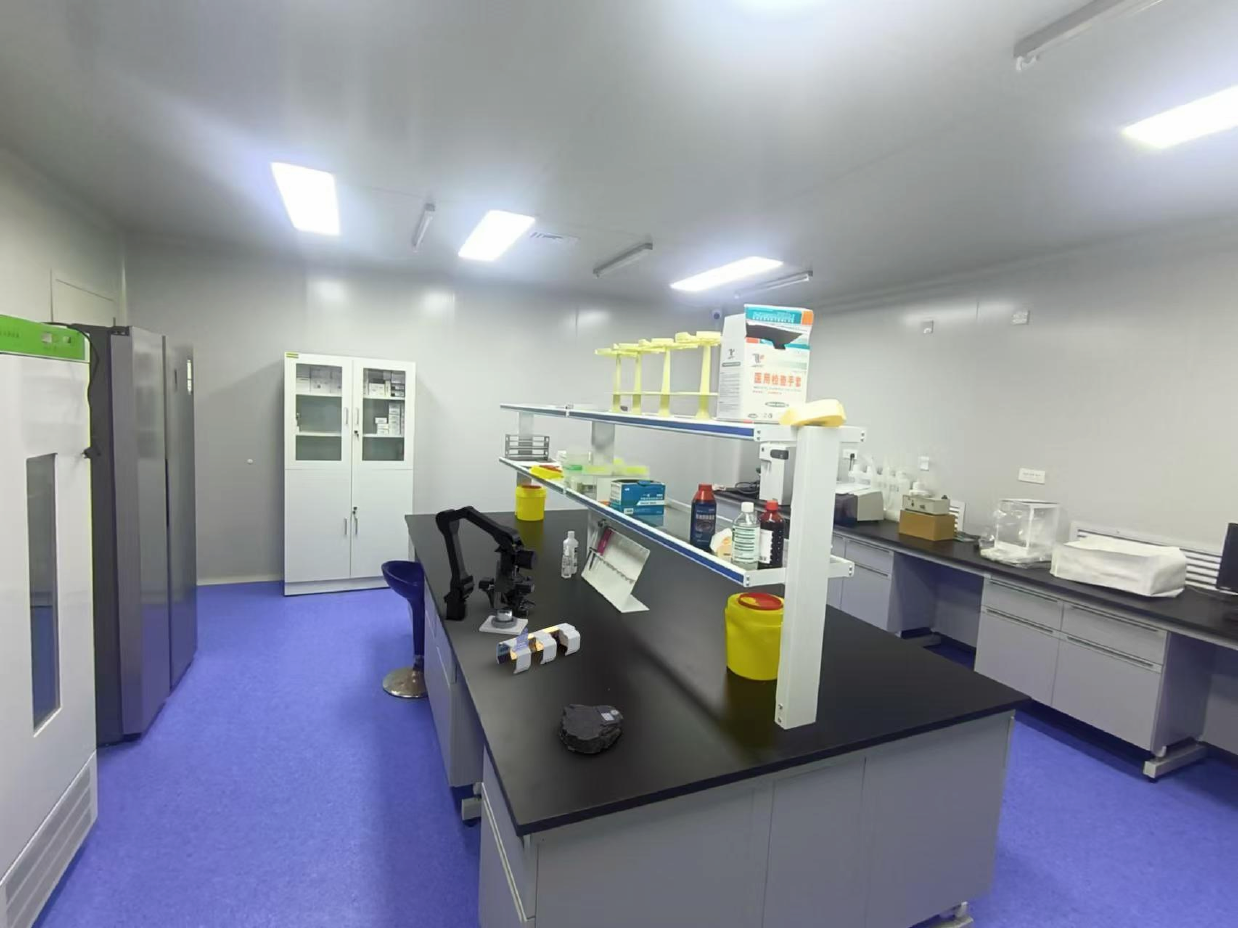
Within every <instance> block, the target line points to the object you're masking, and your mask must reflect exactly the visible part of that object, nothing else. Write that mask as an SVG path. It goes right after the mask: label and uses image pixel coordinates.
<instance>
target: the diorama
mask: <svg viewBox="0 0 1238 928" xmlns="http://www.w3.org/2000/svg"><path fill="white" fill-rule="evenodd" d="M580 642H581V635H580V633H579V631H578V630H576V628H575V626H573V625H571V624H569V623H566V622H565V623H559V624H557V625H554V626H550V627H547V628H543V629H540V630H538V631H534V632H530V633H529V632H528V628H526V627H524V629H523V630H522V632H521V633H520V635H517V636H516V637H514V638H510V639H507V640H504V641H500V642H498V643H496V650H495V651H496V653H495V654H496V655H495V658H496V662H497V664H498V665H501V664H503V663H506V662H509V661H512V660H516V664H515V665H516V666H515V667H516V668H515V670H514V671H513V675H516V674H519V673H521V672H523V671H527V670H528V669H529V667H530V666H531V663H532V662H531V659H532V658H531V657H532V654H533V653H535V652H536V653H537V652H538V651H541V650H543V652H542V660H541V661H540V665H543V664H545V662H546V663H549V662H551V661H554V659H555V658H556V657H557V645H559V644H561V645H563V646H565V647H566V648H567V650H566V651H565V653H564V655H565V656H568V655H570V654H572V653H575V652H578V650H579V649H580Z"/></svg>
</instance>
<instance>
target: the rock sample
mask: <svg viewBox="0 0 1238 928" xmlns="http://www.w3.org/2000/svg"><path fill="white" fill-rule="evenodd" d="M624 721H625V719H624V716H623V715H622V714H621V712H620V711H618V710H617V709H616V708H615V707H614V706H612V705H606V704H605V705H596V706H594V705H593V706H590V705H589V706H588V705H584V704H573V703H569V704H568V705H565V706H564V708H563V713H562V714H561V717H560V719H559V724H560V726H559V729H560V730H558V732H559V731H560V733H561V737H562V738H563V740H564V741H565V742H566V743H567V744H568V745H567V746H571V747H572V748H574V749H577V750H578V751H579V752H580V753H581V752H590V753H589V754H595V753H599V752H601V751H600V750H602V748H603V747H605V746H607V745H608V744H610V743H612V742H613V741H614V740H615V741H616V739H618V738H619V737H618V734H620V733H621V732H622V733H623V730H624V726H623V725H624ZM617 737H618V738H617ZM563 740H562V741H563ZM603 749H604V748H603ZM578 751H577V752H578ZM579 752H578V753H579Z"/></svg>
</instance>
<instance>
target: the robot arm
mask: <svg viewBox="0 0 1238 928" xmlns="http://www.w3.org/2000/svg"><path fill="white" fill-rule="evenodd" d="M462 519H465V520H466V521H468V522H470V523H471V524H472V525H474V526H476V527H477V528H479V529H481V530H482V531H484V532H486V533H488V534H489V535H490V536H491V537H492V538H493V540H494V541H495V543H496V544H498V547H497V548H496V549H494V551H493V552H495V553H498V554H499V560H500V566H499V572H498V576H497V578H496V577H495V578H496V580H495V578H494V577H489V576H484V577H482V578H481V579H480V581H478V585H477V586H478V589H479V590H481V591H482V592H484V593H485V594H486V596H487V597H488V601H489V605H490V607H491V608H492V609H494V596H495V592H503V593H507V592H508V591H509V589H520V593H519V600H518V607H517V608H516V610H517V611H520V610H519V609H520V607H521V604H522V602H523V599H524V598H525V597H526V596H528V595H529V594H530V595H531V594H532V592H534V590H535V586H536V585H535V582H534V580H532V581H523V582H522V583H516V578H515V577H516V568H517V567H518V568H520V569H524V570H531V571H534V570H536V569H537V567H538V565H539V557H538V553H537V550H536V549H529V548H528V549H526V545H525V543H524V542H523V540H522V538H521V535H520V532H519V531H518V530H517V529H515V528H513V527H511V526H507V525H502V524H499V523H498V522H496V521H494V520H493V519H491V518H490V517H488V516H487V515H486V514H484V513H482V512H480V511H479V510H477V509H475V507H474V506H472V505H467V506H463V507H461V508H459V509H454V508H449V509H445V510H442V511H439V512H437V514H436V515H435V517H434V521H435V524H436V527H437V529H438V531H439V532H440V533H441V534H442V536H443V538H444V539H443V540H444V543H445V544H444V545H445V547H446V555H447V559H448V563H449V567H450V568H449V569H450V572H451V577H450V581H449V592H448V593H447V594H445V595H444V596H443V597H442V598H443V603H444V604H446V610H445V611H446V613H445V614H446V615H445V616H444V618H443V619H444V620H452V621H460V622H461V621H463V620H464V619H465V617H467V616H468V609H469V607H468V606H469V604H468V603H467V599H469V598H470V595H471V594H472V593H473V592H474V590H475V586H476V584H475V582H474V576H473V574H470V575H469V574H468V573H467V571H466V567H465V561H464V557H463V553H462V547H461V542H460V538H459V529H460V523H461V521H460V520H462ZM516 566H517V567H516Z"/></svg>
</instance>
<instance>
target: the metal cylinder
mask: <svg viewBox="0 0 1238 928" xmlns="http://www.w3.org/2000/svg"><path fill="white" fill-rule="evenodd" d="M496 616H497V622H498V623H510V622H511V620H512V616H513V610H512V608H508V607H504V608H500V609H497V614H496Z"/></svg>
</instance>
